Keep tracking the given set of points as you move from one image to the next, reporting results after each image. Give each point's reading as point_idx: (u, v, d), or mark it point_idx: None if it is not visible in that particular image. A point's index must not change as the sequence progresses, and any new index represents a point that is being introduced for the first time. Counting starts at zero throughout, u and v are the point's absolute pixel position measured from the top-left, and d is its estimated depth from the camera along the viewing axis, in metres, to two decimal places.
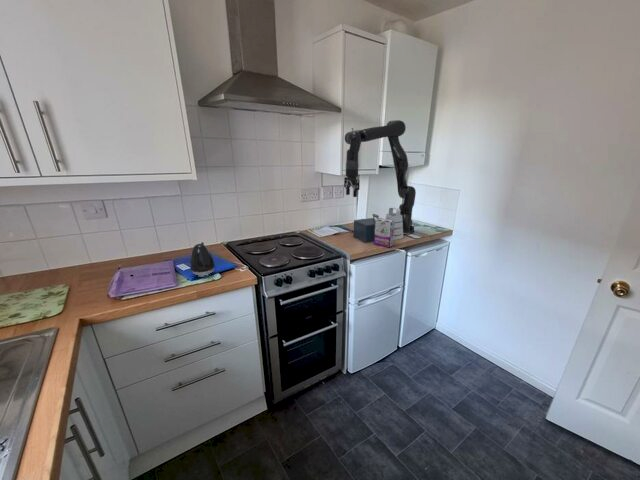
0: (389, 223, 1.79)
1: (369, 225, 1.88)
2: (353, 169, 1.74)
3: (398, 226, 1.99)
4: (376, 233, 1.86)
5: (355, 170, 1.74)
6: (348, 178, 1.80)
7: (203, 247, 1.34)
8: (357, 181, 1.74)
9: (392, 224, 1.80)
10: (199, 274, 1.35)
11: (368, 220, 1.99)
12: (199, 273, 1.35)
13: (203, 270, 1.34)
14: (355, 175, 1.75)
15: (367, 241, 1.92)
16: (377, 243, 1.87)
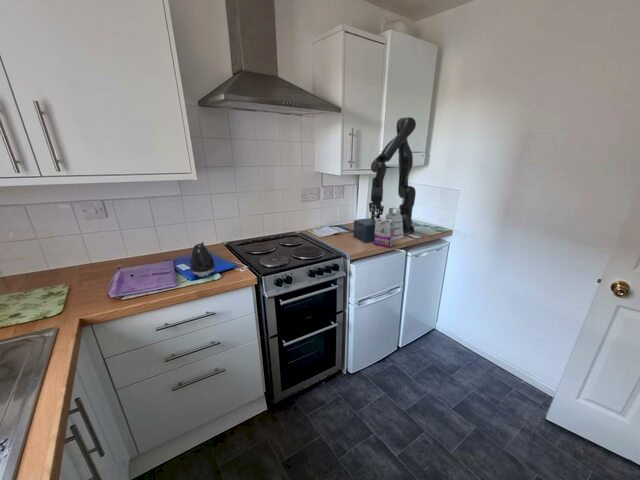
0: (389, 223, 1.79)
1: (369, 225, 1.88)
2: (378, 195, 1.89)
3: (398, 226, 1.99)
4: (376, 233, 1.86)
5: (380, 196, 1.90)
6: (373, 202, 1.96)
7: (203, 247, 1.34)
8: (381, 208, 1.90)
9: (392, 224, 1.80)
10: (199, 274, 1.35)
11: (368, 220, 1.99)
12: (199, 273, 1.35)
13: (203, 270, 1.34)
14: (380, 200, 1.91)
15: (367, 241, 1.92)
16: (377, 243, 1.87)
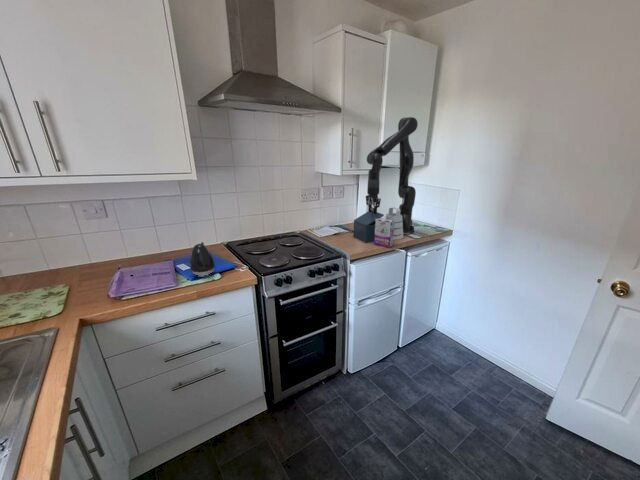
0: (389, 223, 1.79)
1: (369, 224, 1.88)
2: (375, 187, 1.86)
3: (398, 226, 1.99)
4: (376, 233, 1.86)
5: (377, 188, 1.87)
6: (369, 195, 1.92)
7: (203, 247, 1.34)
8: (378, 200, 1.87)
9: (392, 224, 1.80)
10: (199, 274, 1.35)
11: (367, 215, 1.97)
12: (199, 273, 1.35)
13: (203, 270, 1.34)
14: (376, 193, 1.88)
15: (367, 241, 1.92)
16: (377, 243, 1.87)
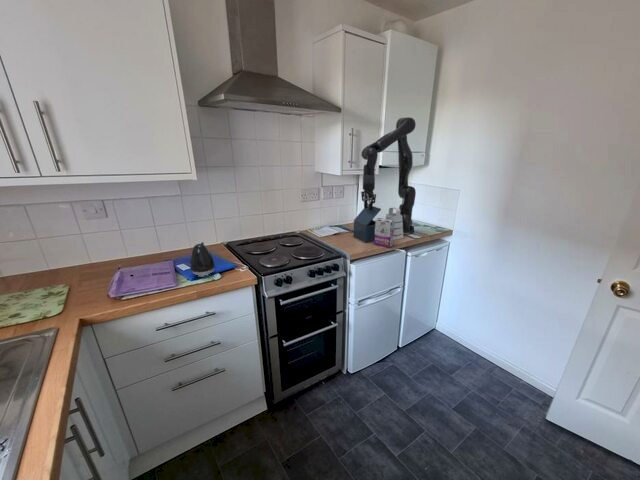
0: (389, 223, 1.79)
1: (368, 223, 1.87)
2: (370, 183, 1.83)
3: (398, 226, 1.99)
4: (376, 233, 1.86)
5: (372, 184, 1.84)
6: (365, 191, 1.90)
7: (203, 247, 1.34)
8: (374, 196, 1.84)
9: (392, 224, 1.80)
10: (199, 274, 1.35)
11: (365, 212, 1.96)
12: (199, 273, 1.35)
13: (203, 270, 1.34)
14: (372, 188, 1.85)
15: (367, 241, 1.92)
16: (377, 243, 1.87)
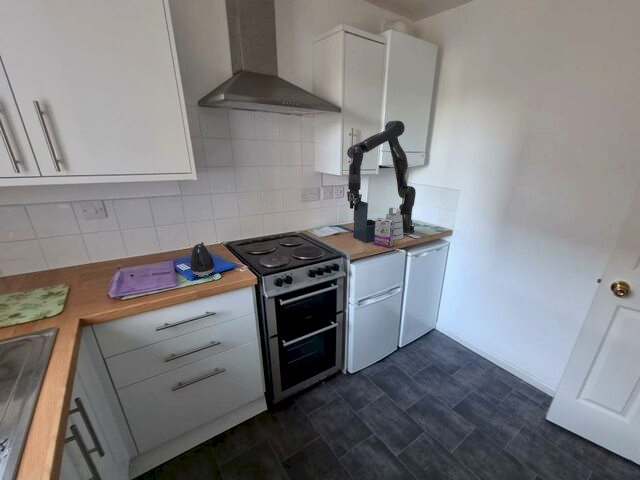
0: (389, 223, 1.79)
1: (366, 222, 1.86)
2: (355, 183, 1.78)
3: (398, 226, 1.99)
4: (376, 233, 1.86)
5: (357, 184, 1.78)
6: (351, 191, 1.84)
7: (203, 247, 1.34)
8: (359, 196, 1.79)
9: (392, 224, 1.80)
10: (199, 274, 1.35)
11: None
12: (199, 273, 1.35)
13: (203, 270, 1.34)
14: (357, 188, 1.79)
15: (367, 241, 1.92)
16: (377, 243, 1.87)
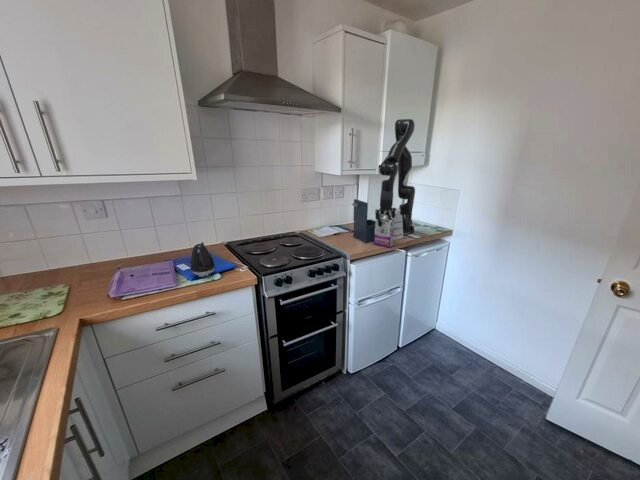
0: (389, 223, 1.79)
1: (366, 222, 1.86)
2: (380, 199, 1.77)
3: (398, 226, 1.99)
4: (376, 233, 1.86)
5: (381, 200, 1.76)
6: None
7: (203, 247, 1.34)
8: (376, 211, 1.77)
9: (392, 224, 1.80)
10: (199, 274, 1.35)
11: (357, 209, 1.92)
12: (199, 273, 1.35)
13: (203, 270, 1.34)
14: (381, 205, 1.77)
15: (367, 241, 1.92)
16: (377, 243, 1.87)
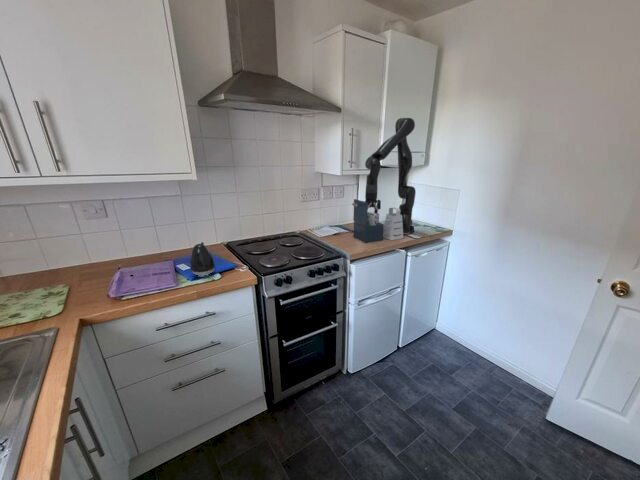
0: (373, 216, 1.91)
1: (366, 222, 1.86)
2: None
3: (398, 226, 1.99)
4: None
5: (366, 193, 1.88)
6: None
7: (203, 247, 1.34)
8: None
9: (377, 217, 1.92)
10: (199, 274, 1.35)
11: (357, 209, 1.92)
12: (199, 273, 1.35)
13: (203, 270, 1.34)
14: (366, 197, 1.89)
15: (367, 241, 1.92)
16: None
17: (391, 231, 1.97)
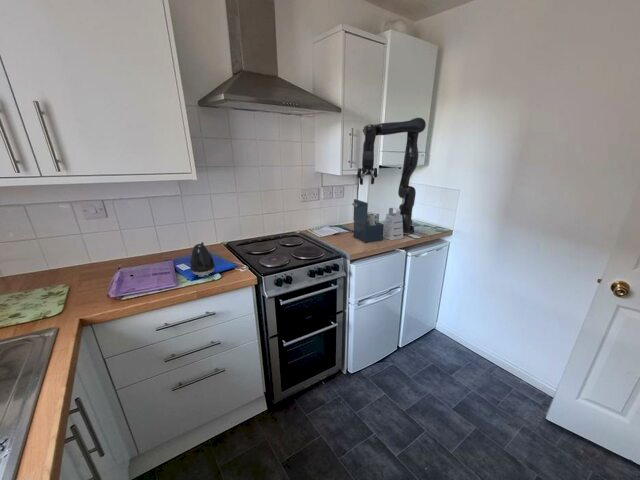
0: (373, 216, 1.91)
1: (366, 222, 1.86)
2: (362, 159, 1.91)
3: (398, 226, 1.99)
4: None
5: (363, 160, 1.90)
6: None
7: (203, 247, 1.34)
8: (358, 169, 1.91)
9: (377, 217, 1.92)
10: (199, 274, 1.35)
11: (357, 209, 1.92)
12: (199, 273, 1.35)
13: (203, 270, 1.34)
14: (363, 164, 1.91)
15: (367, 241, 1.92)
16: None
17: (391, 231, 1.97)
